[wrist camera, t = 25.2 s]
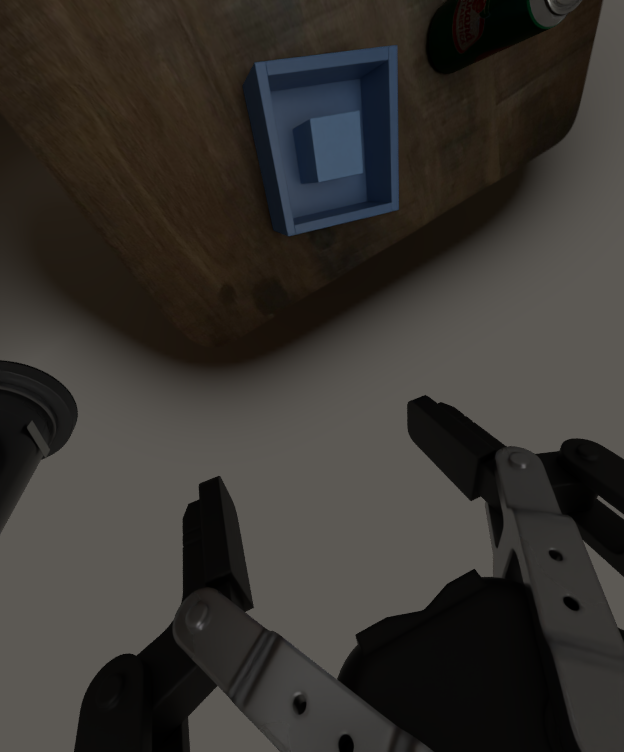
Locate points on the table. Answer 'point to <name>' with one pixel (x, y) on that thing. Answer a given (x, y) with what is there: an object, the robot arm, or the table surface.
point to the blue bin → (316, 99)
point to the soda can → (488, 28)
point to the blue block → (329, 147)
